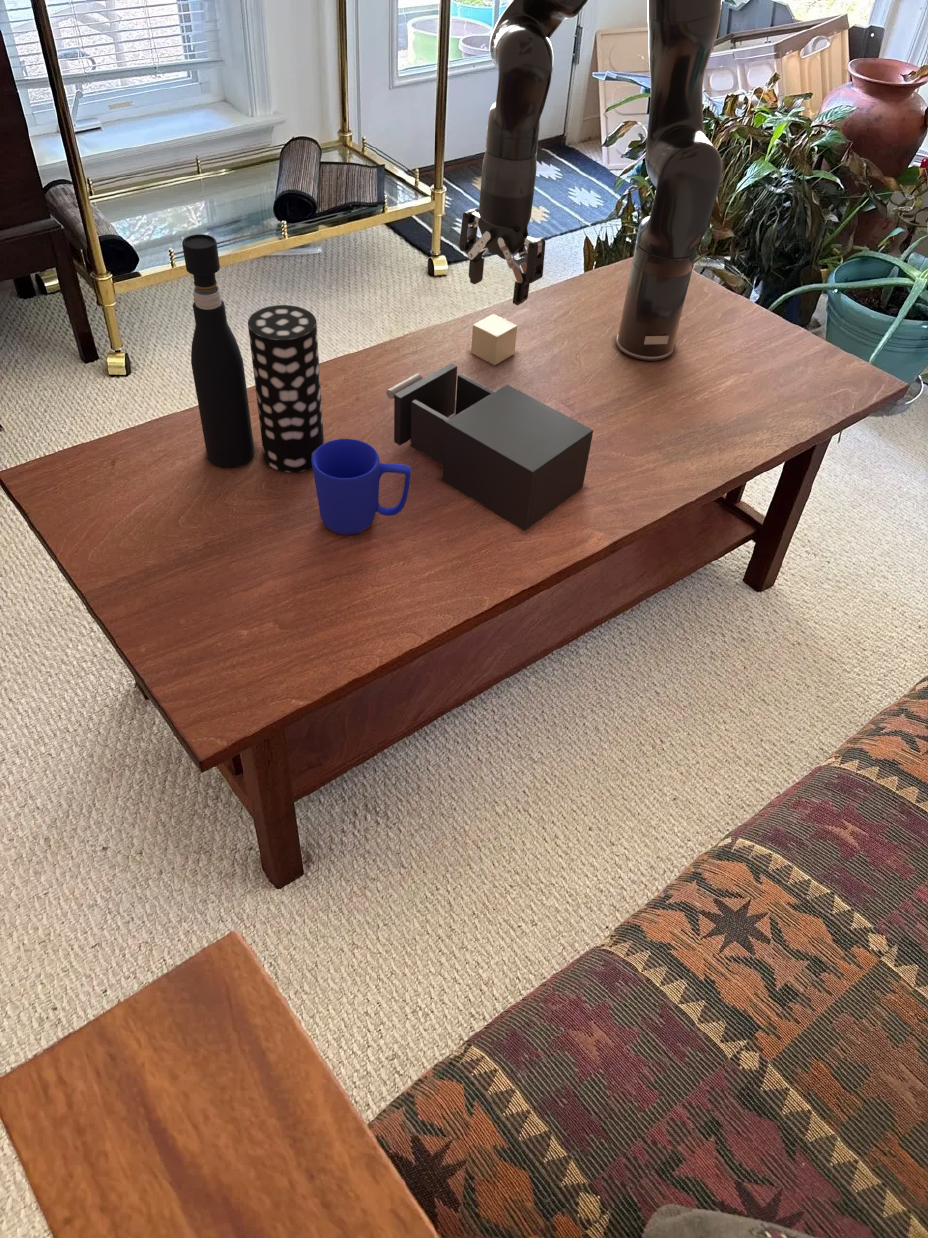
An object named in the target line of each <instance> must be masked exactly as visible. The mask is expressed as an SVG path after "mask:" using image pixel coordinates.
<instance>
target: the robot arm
mask: <svg viewBox="0 0 928 1238" xmlns="http://www.w3.org/2000/svg"><path fill="white" fill-rule="evenodd" d="M588 2H589V0H512V1H511V2H510V3H509V5H508V6H507V7H506V9H504V11H503V12H502V14H501V15H500V17H499V18H498V20H497V22H496V23H495V26H494V28H493V30H492V33H491V35H490V40H489V55H490V58H491V61H492V63H493V65H494V66H495V68H496V70H497V73H498V77H497V79H498V80H497V90H496V97H495V102H494V103H493V104H492V105H491V106H490V109H489V113H488V117H487V118H488V119H487V126H486V136H485V137H486V138H485V150H484V155H483V160H482V164H481V178H480V190H479V203H478V208H477V207H475V208H472V209H469V210H467V211H465V212H463V213H462V218H461V226H460V235H459V243H458V249H459V250H460V252H463V253H464V252H465V253H466V255H467V257H468V259H469V262H468V278H469V283H471V284H473V285H477V284H479V283H481V282H482V281H483V279H484V266H485V257H484V256H483V255H484V254H485V253H487V251H488V253H490V254H491V255H496V256H498V257H499V258H500V259H502V260H505V261H506V264H507V267H508V268H509V269H511V270H512V272H513V273H512V274H513V276H514V278H515V281H514V287H513V296H512V304H513V305H515V306H520V305H522V304H523V303H525V301H527V300H528V298H529V291H530V284H533V283H534V282H536V281H538V280H540V279H542V278H543V277H544V265H545V253H546V239H545V238H544V237H538V238H536V237H532V236H530V235H529V231H528V230H529V229H528V226H529V224H530V221H531V219H532V211H533V203H534V194H535V186H536V179H537V168H538V167H537V157H538V156H537V155H538V148H539V147H538V145H539V139H540V129H541V118H542V114H543V111H544V108H545V105H546V102H547V99H548V96H549V95H548V94H549V91H550V87H551V82H552V79H553V69H554V52H553V51H554V50H553V47H552V42H551V41H550V39H551V37H552V36H553V34H554V33H555V32H556V30H557V29H558V28H559V27H560V26H561V24H562V23H563V22H564V20H566V19H574V18H576V17H577V16H578V15H579V14H580V13H581V12H582V11H583V9H584V7H586V5H587V3H588ZM722 3H723V0H647V31H648V64H649V67H648V68H649V80H650V81H649V82H650V100H649V112H648V124H647V133H646V144H645V157H644V158H645V159H644V160H645V161H644V162H645V169H646V173H647V175H648V178H649V180H650V181H651V183H652V185H653V186H654V187H655V193H654V198H653V202H652V206H651V210H650V215H648V216H646V217H645V218H643V219H641V222H640V223H639V226H638V230H637V234H636V241H635V246H634V249H633V255H632V261H631V267H630V271H629V277H628V282H627V286H626V293H625V298H624V303H623V307H622V312H621V317H620V322H619V327H618V333H617V335H616V340H615V343H616V347H617V348H618V350H619V351H620V352H622V353H623V354H625V355H626V356H628V357H631V358H633V359H637V360H642V361H650V362H651V361H660V360H664V359H667V358H668V357H670V356H671V355H672V354H673V352H674V349H675V341H676V338H677V334H678V330H679V326H680V322H681V317H682V313H683V309H684V304H685V301H686V296H687V293H688V289H689V286H690V281H691V276H692V273H693V268H694V263H695V260H696V256H697V252H698V248H699V244H700V241H701V240H702V239H703V237H704V235H705V234H706V232H707V230H708V228H709V224H710V221H711V218H712V214H713V211H714V208H715V204H716V201H717V197H718V194H719V189H720V186H721V182H722V177H723V160H722V157H721V154H720V152H719V151H718V149H717V148H716V146H714V145H715V144H713V143H712V142H711V141H710V139H709V138H708V137H707V135H706V132H705V128H704V115H703V114H704V113H703V91H704V90H703V89H704V80H705V74H706V70H707V66H708V63H709V61H710V57H711V55H712V53H713V49H714V46H715V44H716V40H717V37H718V33H719V30H720V29H719V28H720V23H721V16H722ZM478 229H479V232H480V234H481V236H480V238H478V240H477V235H478ZM517 255H518V258H517V259H516V257H515V256H517Z"/></svg>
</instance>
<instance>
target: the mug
mask: <svg viewBox="0 0 928 1238" xmlns="http://www.w3.org/2000/svg"><path fill="white" fill-rule="evenodd" d="M311 462H312V475H313V479H314V487H315V492H316V497H317V503H318V504H317V505H318V509H319V514H320V518H321V521H322V523H323V524H324V526H325V527H326V528H327V529H329V530H330V531H331V532H333V533H336V534H340V535H346V536H347V535H348V536H349V535H357V534H359V533H362V532H364V531H365V530H367V529H368V528H369V527H370V526H371V525H372V522H373V521H374V518H375V516H376V512H377V513H378V514H380V515H382V516H385V517H392V516H397V515H398V514H399V513H400V512H402V510H403V509H404V508H405V505H406V503H407V500H408V496H409V491H410V490H409V489H410V484H411V475H412V468H411V466H410V465H408V464H404V463H395V462H393V463H392V462H381V461H380V456H379V453H378V451H377V450H376V449H375V448H374V446H372V445H371V444H369V443H367V442H365V441H363V440H359V439H354V438H337V439H332V440H329V441H327V442H324V444H322V445H321V446H319V447H318V448H317V449H316V450H315V451H314V453H313V455H312V459H311ZM387 473H396V474H403V475H404V484H403V490H402V494H401V498H400V500H399V501H398V504H396V505H395V506H392V507H385V506H382V505H381V504H380V502H379V500H380V499H379V498H380V497H379V495H380V493H379V492H380V482H381V478H382V476H383V475H384V474H387Z"/></svg>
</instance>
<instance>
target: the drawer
mask: <svg viewBox="0 0 928 1238" xmlns="http://www.w3.org/2000/svg"><path fill="white" fill-rule="evenodd" d="M493 392H495V390H492V389H490V388H489V387H488V386H485V385H483V384H481V383H480V382H478V381H476V380H474V379H472V378H470V377H469V376H466V375H465V374H463V373H459V374H458V366H457V365H456V364H454V363H452V362H450V363H448V364H446V365H444V366H443V367H441V368H439V369H437V370H435V371H434V372H432V373H430V374H429V375H426V376H425V377H423V376H422V375H421V373H415V374H414V375H412V376H409V377H408V378H406V379H405V380H402V381H401V382H399V383H397V384H395V385H394V386H392V387H390V388H388V389H387V390H386V392H385V394H386V396H387V398H388V399H389V400H394V401H393V402H394V403H393V405H394V406H393V407H394V408H393V428H394V429H393V433H394V434H393V442H394V443H395V444H397V445H398V446H402V445H404V444H405V443H407V442H409V441H410V447H412V448H413V449H414V450H416V451H419V453H421V454H422V455H425V456H426V457H428V458H430V459H432V461H435V462H436V463H438V464H439V465H441V466H443V452H444V432H445V421H447V420H449V419H450V418H452V417H454V416H455V415H457V414H459V413H460V412H462V411H464V410H465V409H467V408H469V407H470V406H472V405H474V404H475V403H477V402H479V401H480V400H482V399H483V398H485V397H487V396H488V395H490V394H492V393H493ZM453 414H454V415H453ZM450 416H451V417H450Z"/></svg>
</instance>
